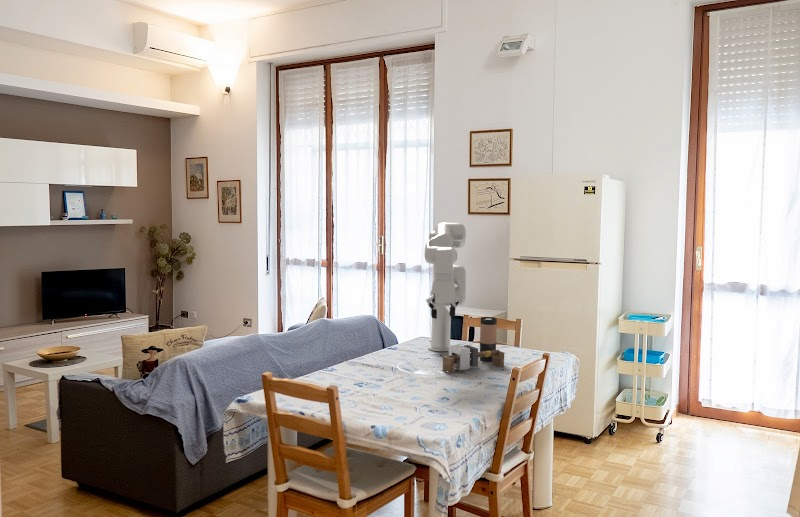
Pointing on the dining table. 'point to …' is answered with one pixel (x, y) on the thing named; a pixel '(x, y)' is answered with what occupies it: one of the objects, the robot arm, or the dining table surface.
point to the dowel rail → (496, 360)
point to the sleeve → (460, 356)
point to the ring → (473, 355)
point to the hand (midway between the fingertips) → (443, 317)
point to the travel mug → (488, 336)
